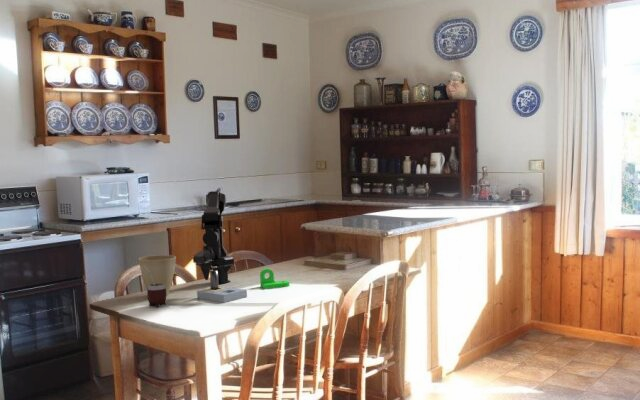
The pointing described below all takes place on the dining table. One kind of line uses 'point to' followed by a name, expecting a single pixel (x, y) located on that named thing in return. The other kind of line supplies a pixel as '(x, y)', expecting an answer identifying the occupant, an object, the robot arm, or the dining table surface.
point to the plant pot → (158, 270)
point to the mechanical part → (271, 280)
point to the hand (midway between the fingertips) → (214, 281)
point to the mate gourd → (156, 293)
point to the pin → (214, 279)
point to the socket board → (222, 294)
